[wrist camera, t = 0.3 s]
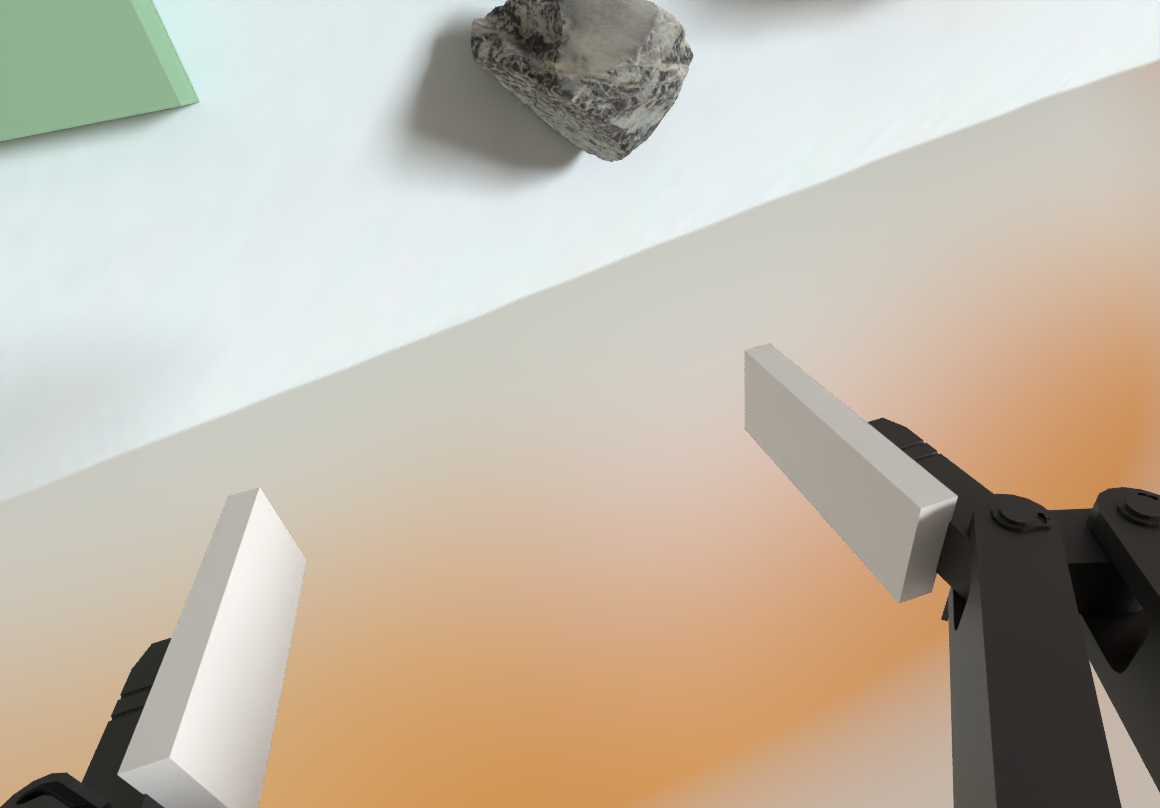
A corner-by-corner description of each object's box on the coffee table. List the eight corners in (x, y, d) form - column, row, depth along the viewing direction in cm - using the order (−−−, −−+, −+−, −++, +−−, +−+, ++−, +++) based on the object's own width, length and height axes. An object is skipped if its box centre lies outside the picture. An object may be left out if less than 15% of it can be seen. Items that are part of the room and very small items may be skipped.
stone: (546, 157, 28) (724, 23, 26) (438, 0, 29) (603, -135, 28) (579, 223, 37) (711, 127, 36) (497, 103, 38) (622, 6, 37)
